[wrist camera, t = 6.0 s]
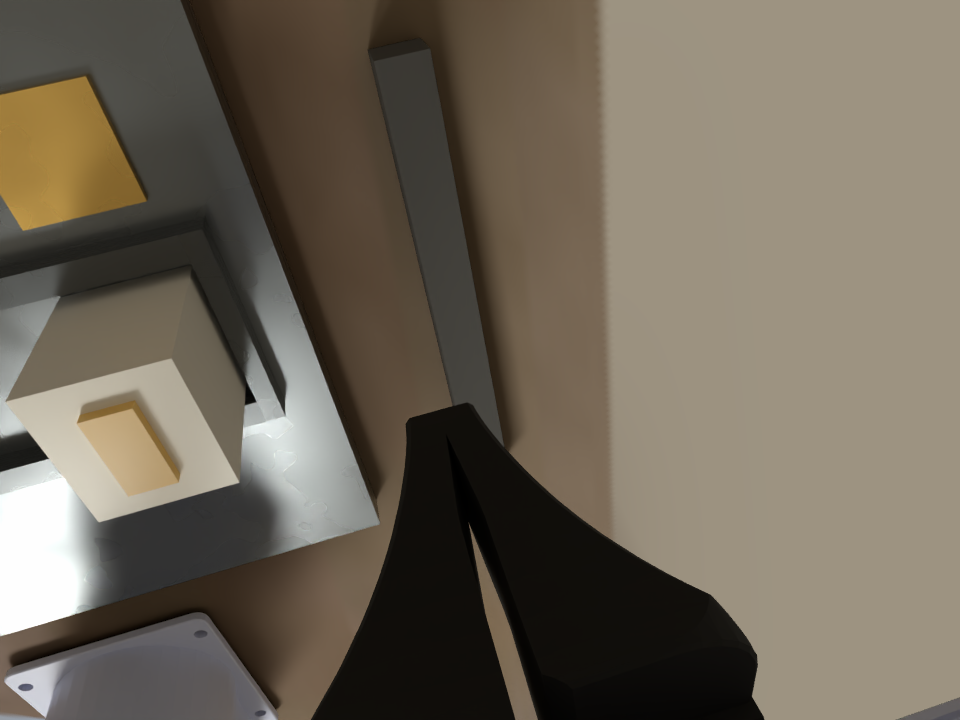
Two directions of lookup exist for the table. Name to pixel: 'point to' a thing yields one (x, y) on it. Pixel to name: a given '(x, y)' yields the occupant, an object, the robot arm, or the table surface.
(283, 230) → the table surface
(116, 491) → the toggle
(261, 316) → the panel
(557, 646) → the robot arm
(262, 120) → the table surface
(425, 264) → the dark gray bar
